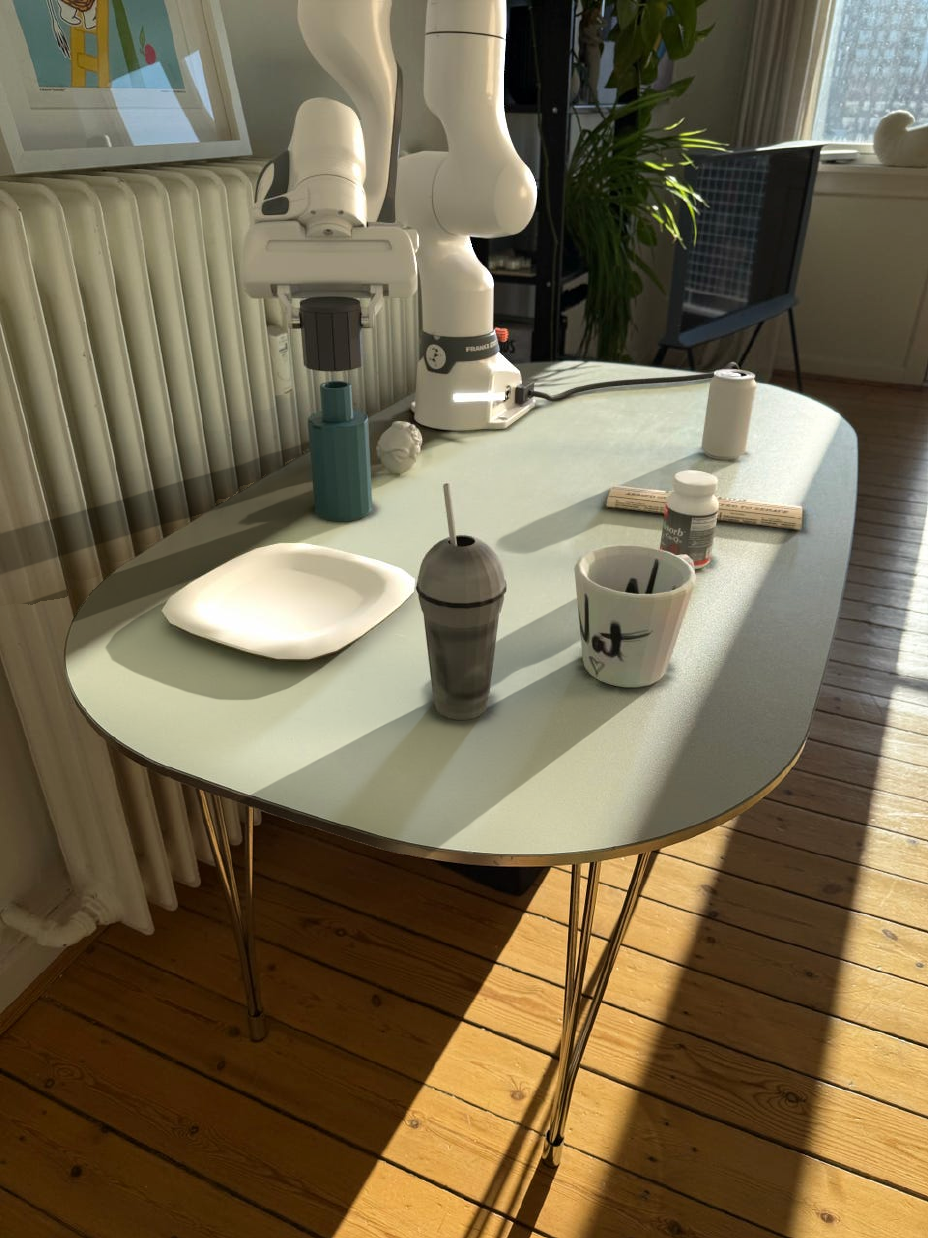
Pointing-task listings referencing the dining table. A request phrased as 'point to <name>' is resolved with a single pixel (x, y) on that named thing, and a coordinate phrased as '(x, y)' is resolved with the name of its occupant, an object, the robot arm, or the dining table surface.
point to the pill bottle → (691, 516)
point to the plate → (290, 601)
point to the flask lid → (331, 333)
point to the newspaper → (726, 512)
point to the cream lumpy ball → (399, 447)
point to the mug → (631, 611)
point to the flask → (340, 456)
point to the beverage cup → (460, 618)
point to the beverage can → (728, 413)
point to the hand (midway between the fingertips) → (330, 325)
